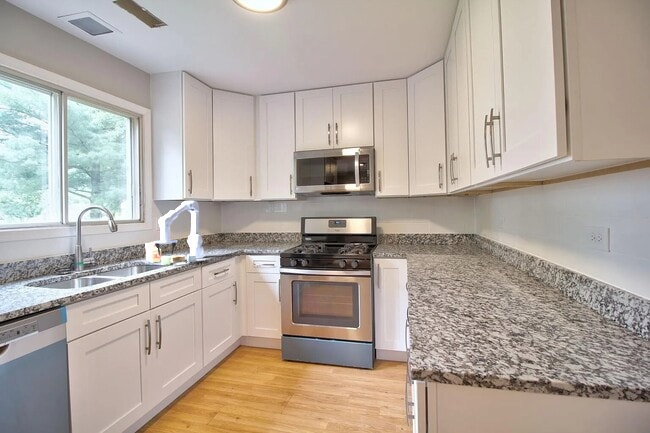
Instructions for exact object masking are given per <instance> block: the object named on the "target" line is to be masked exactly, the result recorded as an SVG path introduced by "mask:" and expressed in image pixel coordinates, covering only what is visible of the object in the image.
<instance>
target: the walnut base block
mask: <svg viewBox="0 0 650 433" xmlns="http://www.w3.org/2000/svg"><path fill="white" fill-rule="evenodd" d="M170 261H171V263H172V264H173V263H182V261H184V262H186V256H185V255H183V254H180V255H179V254H178V255H170Z"/></svg>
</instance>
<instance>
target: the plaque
mask: <svg viewBox="0 0 650 433" xmlns="http://www.w3.org/2000/svg"><path fill="white" fill-rule="evenodd" d="M172 265H173V266H174V267H181V266H182V267H183V266H190V263H188V262H187V261H184V262H175V263H172Z"/></svg>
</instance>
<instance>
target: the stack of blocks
mask: <svg viewBox="0 0 650 433" xmlns="http://www.w3.org/2000/svg"><path fill="white" fill-rule="evenodd" d="M145 259H146V261H148V262H150V263H160V262H161V263H162V249H161V248H160V255H159V253H158V250H157V247H156V246H155V245H153V242H149V243H147V242H146V243H145Z"/></svg>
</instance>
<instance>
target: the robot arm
mask: <svg viewBox="0 0 650 433" xmlns="http://www.w3.org/2000/svg"><path fill="white" fill-rule="evenodd" d="M199 208H200V205H199V202H198V201H197V200H185V201H183V202H181V205H179V206H178V207H177V208H175V210H169V212H168V213H166V214H165V215H164V216H161V217H160V218H159V219H158V221H157V223H158V225H159V228H160V240H155V241H153V242H152V243H153V245H155V246H156V247H157V250H158V253H159V255H160V249H161V246H160V245H167V244H168V245H169V244H171V245H170V246H171V250H170V251H171V255H173V254H174V250H175V247H176V245H177V244H178V239H175V240H174V239H173V240H172V239H171V225H172V223H173V222H174V220H175V219H177V218H178V217H179V214H181V213H182V212H184V211H185V210H186V211H188V212H190V214H191V215H190V216H191V221H190V223H191V224H190V225H191V226H190V235H188V239H187V244H188V247H189V251H190V252H189V253H190V254H189V255H193V254H195V255H196V259H203V257H204V258H205V256H204V254H205V253H204V252H205V251H204V246H203V238H202V237H203V236H202V235H201V234H200V233H199V232H200V209H199Z"/></svg>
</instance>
